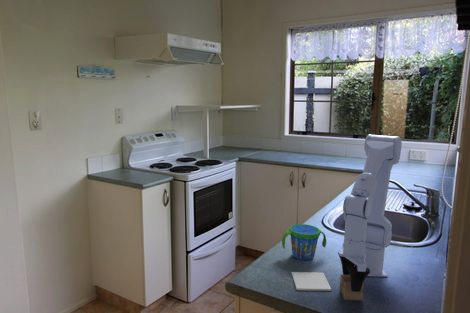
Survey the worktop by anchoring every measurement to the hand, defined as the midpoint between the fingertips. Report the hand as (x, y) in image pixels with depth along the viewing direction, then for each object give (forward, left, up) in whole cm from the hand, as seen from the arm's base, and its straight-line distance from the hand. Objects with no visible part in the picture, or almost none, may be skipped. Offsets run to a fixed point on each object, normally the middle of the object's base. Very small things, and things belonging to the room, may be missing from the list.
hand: (351, 283), depth 103 cm
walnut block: (0, 0, -4) cm, 4 cm away
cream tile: (-7, -10, -3) cm, 13 cm away
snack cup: (-25, -9, -4) cm, 27 cm away
